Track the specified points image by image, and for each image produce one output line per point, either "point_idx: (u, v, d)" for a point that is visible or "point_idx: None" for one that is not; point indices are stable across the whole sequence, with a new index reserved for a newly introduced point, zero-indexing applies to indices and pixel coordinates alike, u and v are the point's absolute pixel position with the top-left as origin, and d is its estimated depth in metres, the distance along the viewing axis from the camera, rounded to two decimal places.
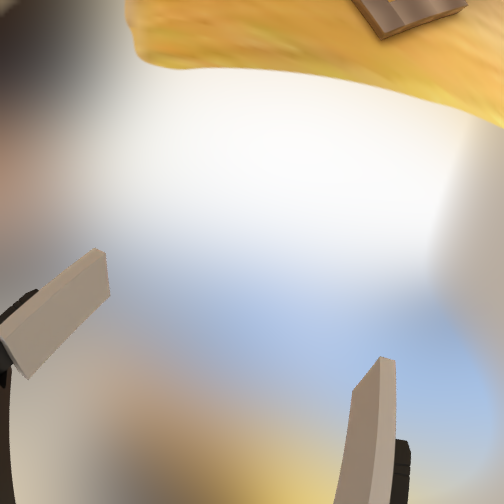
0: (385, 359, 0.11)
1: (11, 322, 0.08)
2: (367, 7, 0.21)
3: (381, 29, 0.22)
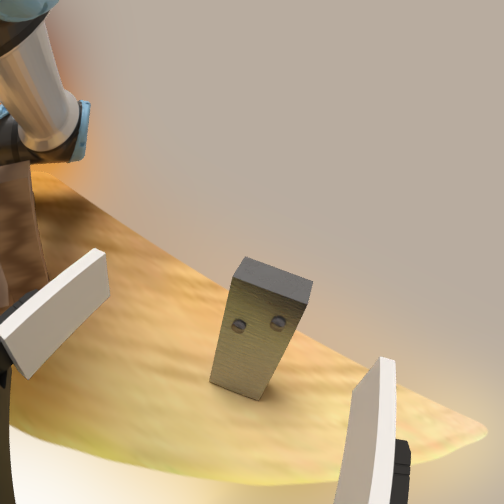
0: (385, 359, 0.11)
1: (11, 322, 0.08)
2: None
3: None
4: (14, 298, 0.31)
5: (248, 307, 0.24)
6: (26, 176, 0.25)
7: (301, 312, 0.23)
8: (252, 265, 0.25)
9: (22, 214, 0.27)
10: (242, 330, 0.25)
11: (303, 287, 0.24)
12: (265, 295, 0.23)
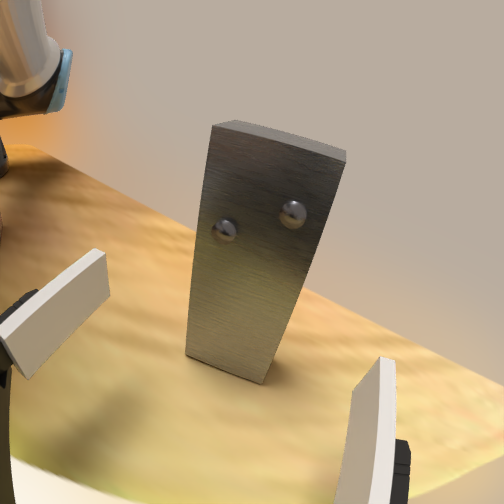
0: (385, 359, 0.11)
1: (11, 322, 0.08)
2: None
3: None
4: None
5: (240, 185, 0.14)
6: None
7: (335, 181, 0.12)
8: (247, 124, 0.14)
9: None
10: (230, 236, 0.15)
11: (333, 150, 0.13)
12: (269, 152, 0.12)
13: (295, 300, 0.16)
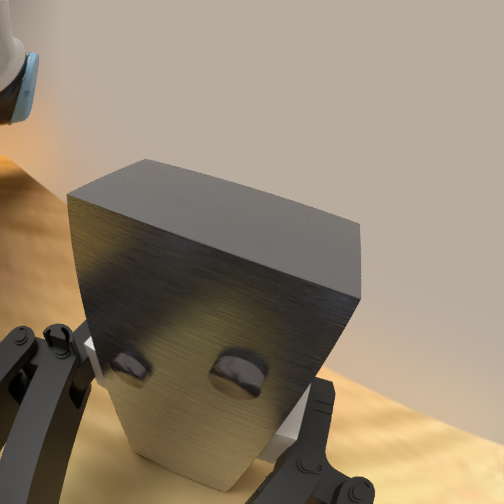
0: None
1: None
2: None
3: None
4: None
5: (134, 312, 0.06)
6: None
7: (330, 336, 0.05)
8: (156, 172, 0.07)
9: None
10: (139, 381, 0.08)
11: (331, 236, 0.06)
12: (173, 261, 0.05)
13: (255, 455, 0.09)
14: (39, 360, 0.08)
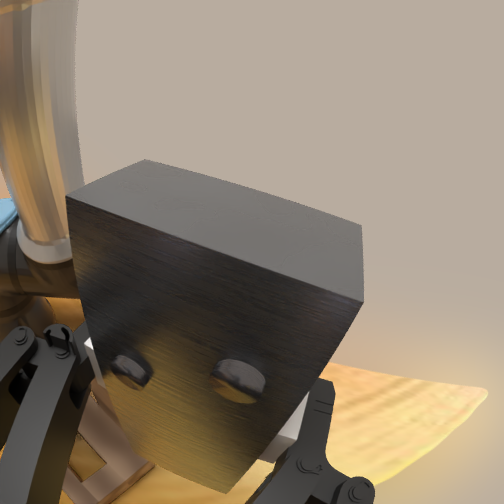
0: None
1: None
2: (65, 491, 0.20)
3: None
4: None
5: (133, 315, 0.06)
6: None
7: (332, 339, 0.05)
8: (156, 173, 0.07)
9: None
10: (139, 383, 0.07)
11: (333, 238, 0.06)
12: (173, 264, 0.05)
13: (255, 457, 0.08)
14: (39, 360, 0.08)
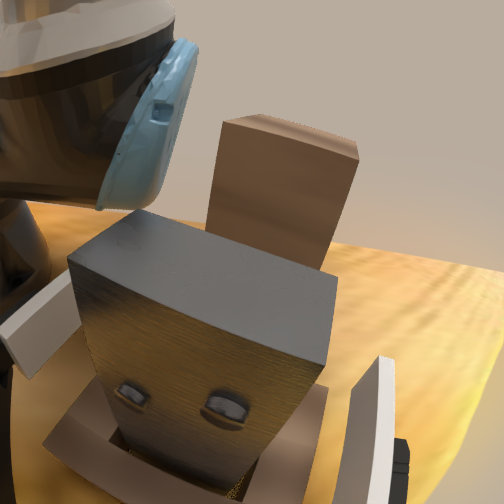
0: (384, 358, 0.11)
1: (12, 322, 0.08)
2: None
3: None
4: None
5: (134, 356, 0.07)
6: (351, 140, 0.16)
7: (300, 389, 0.06)
8: (148, 227, 0.08)
9: None
10: (140, 408, 0.08)
11: (308, 297, 0.07)
12: (165, 325, 0.06)
13: (245, 470, 0.09)
14: None
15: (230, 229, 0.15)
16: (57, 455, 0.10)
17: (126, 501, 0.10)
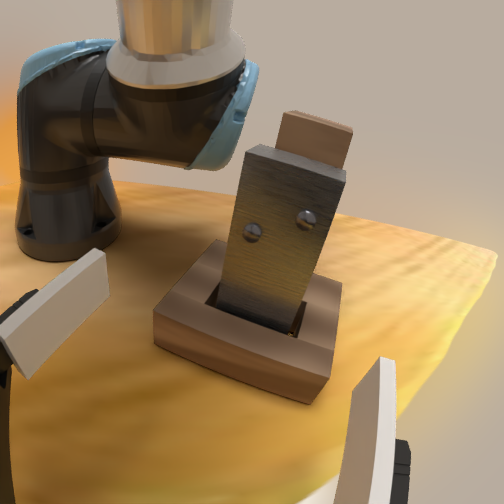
0: (385, 359, 0.11)
1: (11, 322, 0.08)
2: (285, 362, 0.20)
3: (320, 378, 0.19)
4: None
5: (266, 197, 0.18)
6: None
7: (337, 196, 0.17)
8: (269, 149, 0.19)
9: None
10: (257, 236, 0.19)
11: (336, 171, 0.18)
12: (289, 174, 0.17)
13: (306, 286, 0.20)
14: None
15: None
16: (166, 315, 0.21)
17: (220, 339, 0.20)
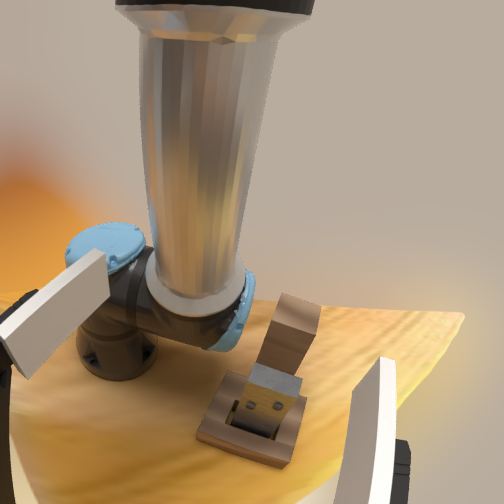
0: (385, 359, 0.11)
1: (11, 322, 0.08)
2: (267, 454, 0.34)
3: (285, 461, 0.34)
4: None
5: (257, 396, 0.32)
6: (319, 306, 0.42)
7: (293, 401, 0.31)
8: (260, 369, 0.33)
9: None
10: (253, 408, 0.34)
11: (295, 384, 0.32)
12: (269, 392, 0.31)
13: (278, 424, 0.35)
14: None
15: (271, 347, 0.40)
16: (205, 432, 0.36)
17: (234, 444, 0.35)
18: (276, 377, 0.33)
